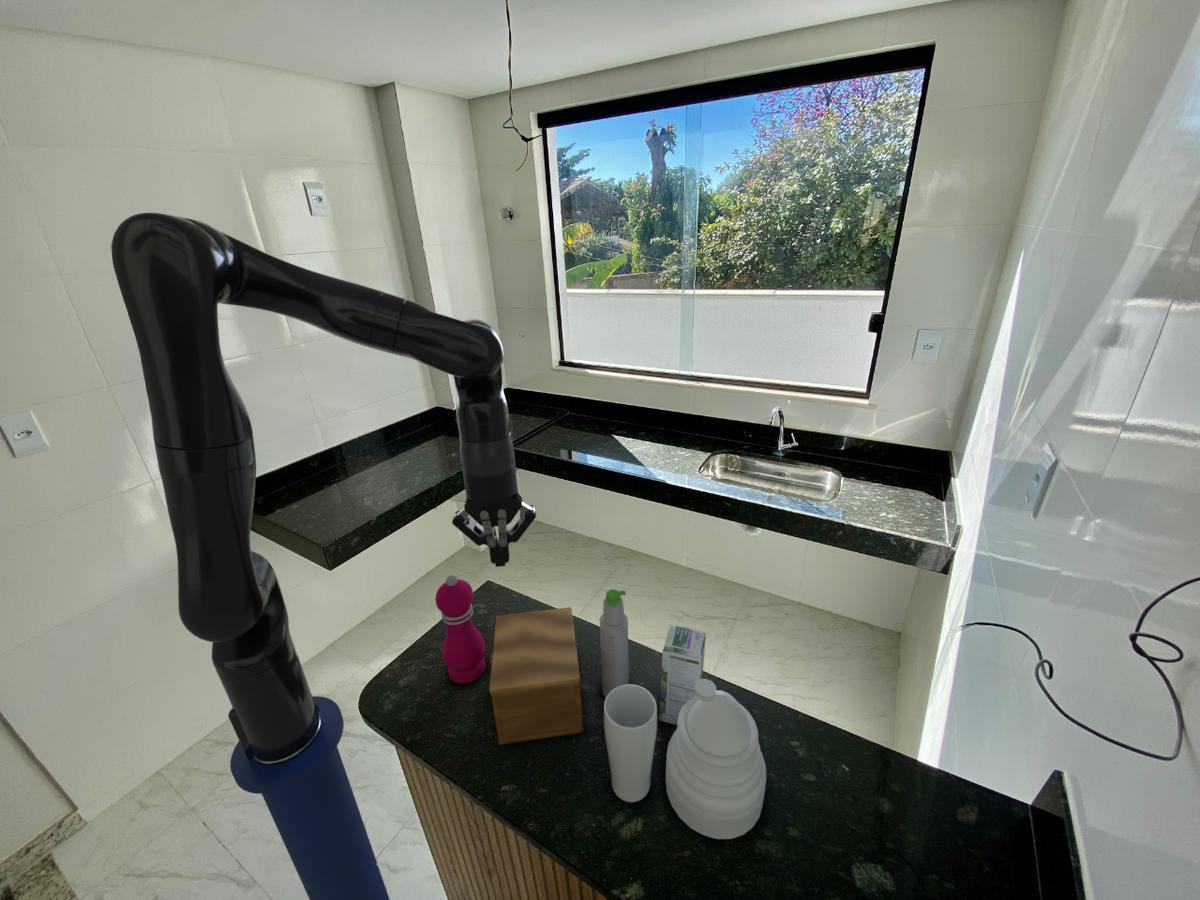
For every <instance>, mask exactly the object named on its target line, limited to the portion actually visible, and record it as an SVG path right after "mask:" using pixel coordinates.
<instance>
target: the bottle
mask: <svg viewBox="0 0 1200 900" xmlns="http://www.w3.org/2000/svg"><path fill="white" fill-rule="evenodd" d="M625 595H627V592H626V590H618V589H615V588H612V589H611V588H610V589H609V590H607V591H606V593H605V597H604V599H603V604H602V605H603V606H602V614H601V615H600V617H599V636H600V659H601V661H600V663H601V665H600V666H601V687H602V689H601V690H602V695H603V697H604V698H605V699H606V697H607V695H608V694H609V693H610V692H611V691H612V690H613V689H614V688H616V687H618V686H621V685H626V684H630V683H629V681H630V680H629V678H630V677H629V620H628V616H627V615H626V613H625V608H624V599H623V598H622V597H621V596H625Z"/></svg>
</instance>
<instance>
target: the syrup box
mask: <svg viewBox="0 0 1200 900" xmlns="http://www.w3.org/2000/svg"><path fill="white" fill-rule="evenodd" d="M706 638H707V632H705V631H702V630H699V629H695V628H691V627H686V626H682V625H676V624H675V625H674V624H670V625H669V627H668V631H667V633H666V639H665V642H664V644H663V648H662V652H661V671H660V689H659V690H660V691H659V712H658V720H659V721H660V722H663V723H668V724H672V725H676V726H677V721H678V715H679V712H680V710H681V708H682V706H683V705H684V704H685V703H686V702H687V701H688V700H690V699H692V698H694V697H695V696H697V695H696V692H695V683H696V682H697V681H698V680H700V679H703V673H704V662H705V653H706V652H705V651H706Z"/></svg>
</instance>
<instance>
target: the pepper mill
mask: <svg viewBox="0 0 1200 900" xmlns="http://www.w3.org/2000/svg"><path fill="white" fill-rule="evenodd" d="M474 595H475V594H474V590H473V587H472V586H471V584H470V583H469V582H468V581H466V580H465V579H460V578H459V579H458V577H457V576H456V575H454V574H450V575H448V576H447V577H446V579H445V582H443V583H442V584H441V585H440V586H439V587H438V588H437V591H436V593H435V600H434V601H435V605H436V608H437V609H438V610H439V611H440V614H441V620H442V621H443V623H445V624H446V635H445V638H444V641H443V644H442V650H441V655H442V661H443V663H444V664H445V665H446V666H447V670H448V675H449V678H450V679H451V680H452V682H454V683H456V684H462V685H463V684H468V683H472V682H474V681H476V680H477V679H479V678H480V677H481V676H482V675H483V673H484V671H485V669H486V661H485V660H486V659H485V654H486V642H485V639H484V637H483V635H482V633H480V631H479V630H478V629H477V628H476V626H475V625H474V623H473V620H472V616H473V615H474V609H473V602H474Z"/></svg>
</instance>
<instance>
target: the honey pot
mask: <svg viewBox="0 0 1200 900" xmlns="http://www.w3.org/2000/svg"><path fill="white" fill-rule="evenodd" d="M695 692H696V695H697V696H695V697H694V698H692V699H690V700H688V701H687V702H686V703H685V704H684V705H683V706H682V708H681V710H680V712H679V715H678V721H677V725H676V730H674V732H673V733H672V735H671V738H670V740H669V741H668V744H667V749H666V759H665V760H666V761H665V788H666V795H667V797H668V800H669V802H670V805H671V807H672V808H673V810H674V812H675V813H676V814H677V816H678V817H679V819H680V820H681V821H682V822H684V824H686V825H687V826H688V827H689V828H690V829H691V830H693V831H694V832H697V833H698V834H700V835H702V836H704V837H708V838H712V839H715V840H731V839H736V838H739V837H742V836H744V835H745V834H746V833H748V832H749V831H750V830H751V829H753V828H754V826H755V825H756V823H757V822H758V820H759V819H760V817H761V814H762V810H763V805H764V801H765V800H764V799H765V793H766V783H767V766H766V762H765V759H764V756H763V752H762V751H761V746H760V741H759V731H758V727H757V724H756V721H755V719H754V718H753V716H752V714H751V713H750V712H749V711H748V710H747V709H746V707H744V706H743V704H742V703H739V702H738V700H737V699H736V698H735V697H734V696H733V695H732V694H730V693H729V692H727V691H724V690H721V689H720V690H719V689H718V690H717V686H716V684H715V682H713V681H712V680H711V679H708V678H702V679H700V680H698V681H697V682H696V683H695Z"/></svg>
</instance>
